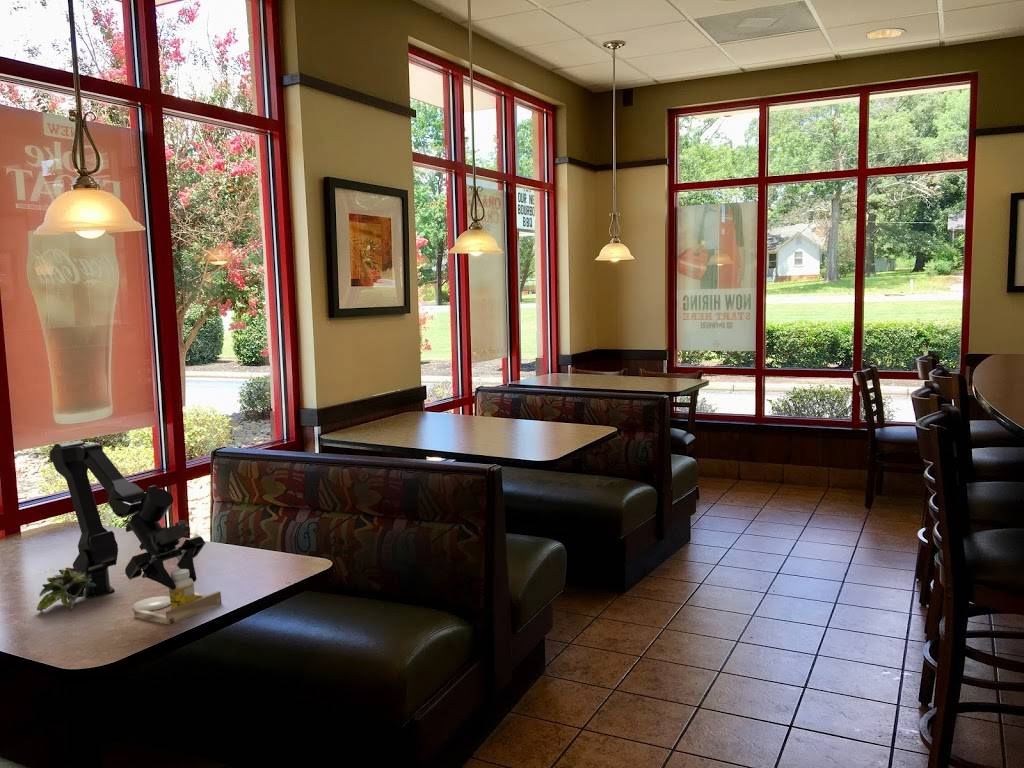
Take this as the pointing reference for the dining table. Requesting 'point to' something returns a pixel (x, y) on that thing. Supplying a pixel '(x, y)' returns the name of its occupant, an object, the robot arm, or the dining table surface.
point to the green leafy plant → (65, 588)
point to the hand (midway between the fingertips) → (185, 584)
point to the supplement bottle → (181, 588)
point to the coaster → (152, 603)
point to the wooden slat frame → (183, 609)
